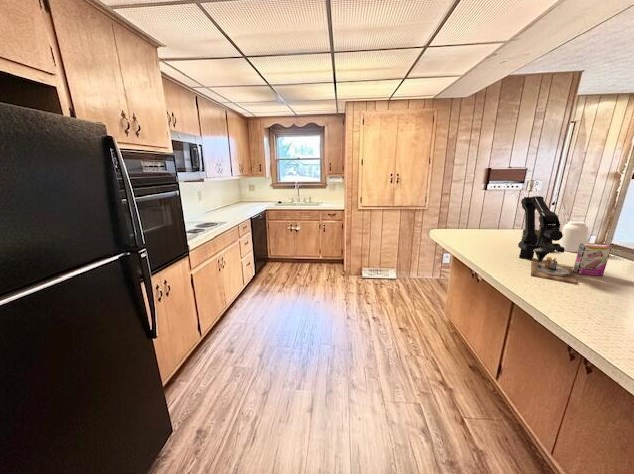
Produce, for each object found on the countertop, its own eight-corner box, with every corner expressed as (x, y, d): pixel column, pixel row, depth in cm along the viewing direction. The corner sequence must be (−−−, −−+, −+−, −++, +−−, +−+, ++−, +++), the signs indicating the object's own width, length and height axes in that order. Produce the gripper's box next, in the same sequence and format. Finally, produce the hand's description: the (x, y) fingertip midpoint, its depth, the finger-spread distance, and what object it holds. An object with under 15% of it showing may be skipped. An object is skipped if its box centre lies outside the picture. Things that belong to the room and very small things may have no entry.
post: (549, 273, 147) (551, 261, 145) (548, 271, 148) (551, 260, 147) (554, 274, 145) (557, 262, 143) (554, 272, 147) (557, 261, 145)
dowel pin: (550, 267, 155) (552, 258, 153) (550, 266, 156) (552, 257, 154) (554, 267, 154) (556, 259, 152) (553, 267, 155) (556, 258, 154)
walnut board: (530, 275, 144) (531, 274, 144) (531, 262, 162) (531, 261, 162) (576, 284, 133) (577, 282, 133) (571, 269, 151) (571, 267, 151)
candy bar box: (577, 274, 145) (584, 245, 140) (572, 270, 149) (579, 242, 145) (603, 276, 141) (612, 247, 137) (597, 273, 146) (605, 244, 141)
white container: (585, 253, 176) (592, 224, 171) (560, 251, 182) (567, 222, 177) (579, 248, 186) (587, 220, 181) (556, 246, 193) (562, 219, 187)
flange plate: (571, 277, 138) (573, 269, 137) (539, 273, 144) (541, 265, 143) (562, 266, 153) (563, 259, 152) (533, 262, 160) (535, 255, 158)
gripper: (532, 238, 146) (527, 265, 150) (573, 240, 141) (567, 268, 146) (523, 233, 157) (518, 258, 161) (561, 235, 152) (555, 261, 156)
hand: (539, 261), depth 155 cm, fingers closed
